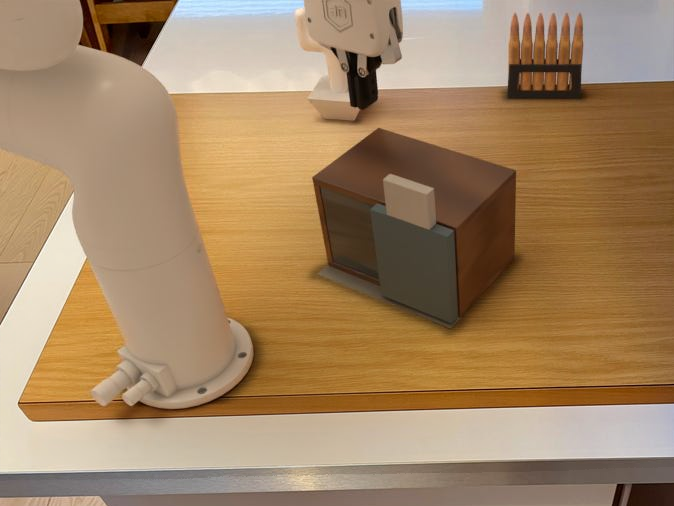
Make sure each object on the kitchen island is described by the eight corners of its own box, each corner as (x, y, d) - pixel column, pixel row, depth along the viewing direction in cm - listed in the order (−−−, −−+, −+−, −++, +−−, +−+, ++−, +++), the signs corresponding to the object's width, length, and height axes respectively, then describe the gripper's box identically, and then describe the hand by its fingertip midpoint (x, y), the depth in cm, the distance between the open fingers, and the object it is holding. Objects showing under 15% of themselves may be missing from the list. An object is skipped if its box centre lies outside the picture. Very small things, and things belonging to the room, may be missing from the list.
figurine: (368, 127, 114) (355, 19, 103) (303, 122, 115) (284, 15, 105) (381, 102, 119) (370, -3, 109) (319, 98, 120) (302, -7, 110)
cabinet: (450, 329, 85) (445, 238, 76) (317, 275, 91) (299, 186, 83) (514, 259, 93) (516, 170, 85) (388, 214, 99) (378, 127, 91)
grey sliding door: (451, 324, 85) (445, 200, 74) (381, 295, 88) (365, 173, 77) (458, 317, 85) (452, 194, 75) (387, 289, 89) (372, 167, 78)
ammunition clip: (507, 98, 119) (507, 15, 111) (507, 92, 121) (508, 10, 112) (580, 98, 119) (587, 15, 111) (580, 92, 120) (586, 10, 112)
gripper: (263, -71, 82) (293, 101, 95) (385, -46, 77) (399, 133, 89) (311, -90, 87) (333, 77, 99) (429, -68, 81) (436, 106, 94)
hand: (364, 103), depth 94 cm, fingers closed
